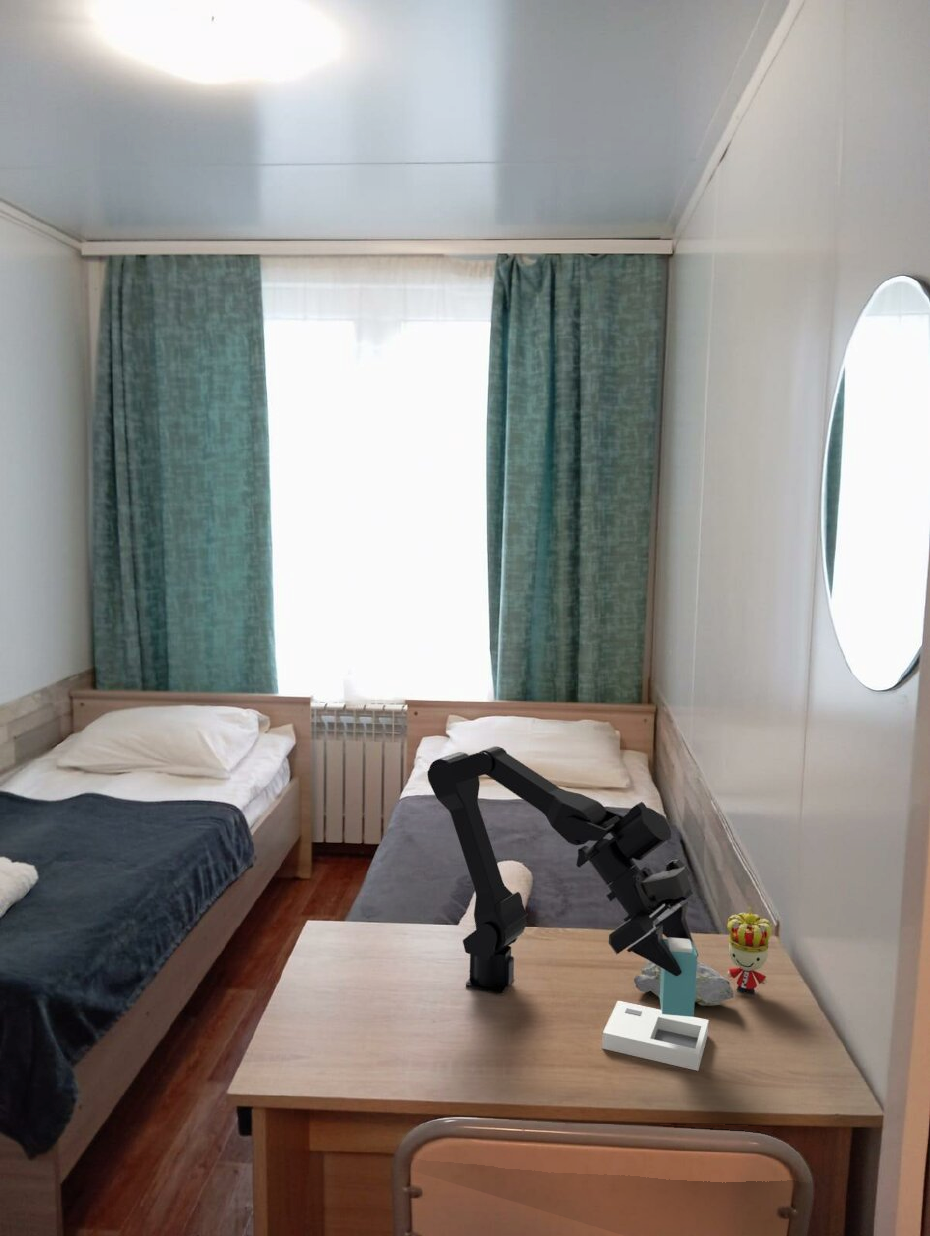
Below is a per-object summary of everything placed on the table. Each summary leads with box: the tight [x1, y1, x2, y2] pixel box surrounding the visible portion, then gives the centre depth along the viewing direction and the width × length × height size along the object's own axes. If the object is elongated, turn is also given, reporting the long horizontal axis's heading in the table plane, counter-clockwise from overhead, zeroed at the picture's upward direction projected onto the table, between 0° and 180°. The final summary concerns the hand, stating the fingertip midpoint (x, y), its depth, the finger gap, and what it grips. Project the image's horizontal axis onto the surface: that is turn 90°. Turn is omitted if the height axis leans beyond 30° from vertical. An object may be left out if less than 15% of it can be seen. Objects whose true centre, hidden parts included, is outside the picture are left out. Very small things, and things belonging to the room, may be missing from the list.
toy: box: [726, 904, 773, 996], centre depth 158 cm, size 7×7×15 cm
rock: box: [633, 960, 735, 1007], centre depth 156 cm, size 16×7×7 cm, turn 64°
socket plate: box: [601, 1000, 709, 1072], centre depth 143 cm, size 14×10×3 cm
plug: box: [658, 937, 698, 1017], centre depth 140 cm, size 4×4×10 cm
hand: (687, 966), depth 139 cm, fingers closed on plug, 6 cm apart
